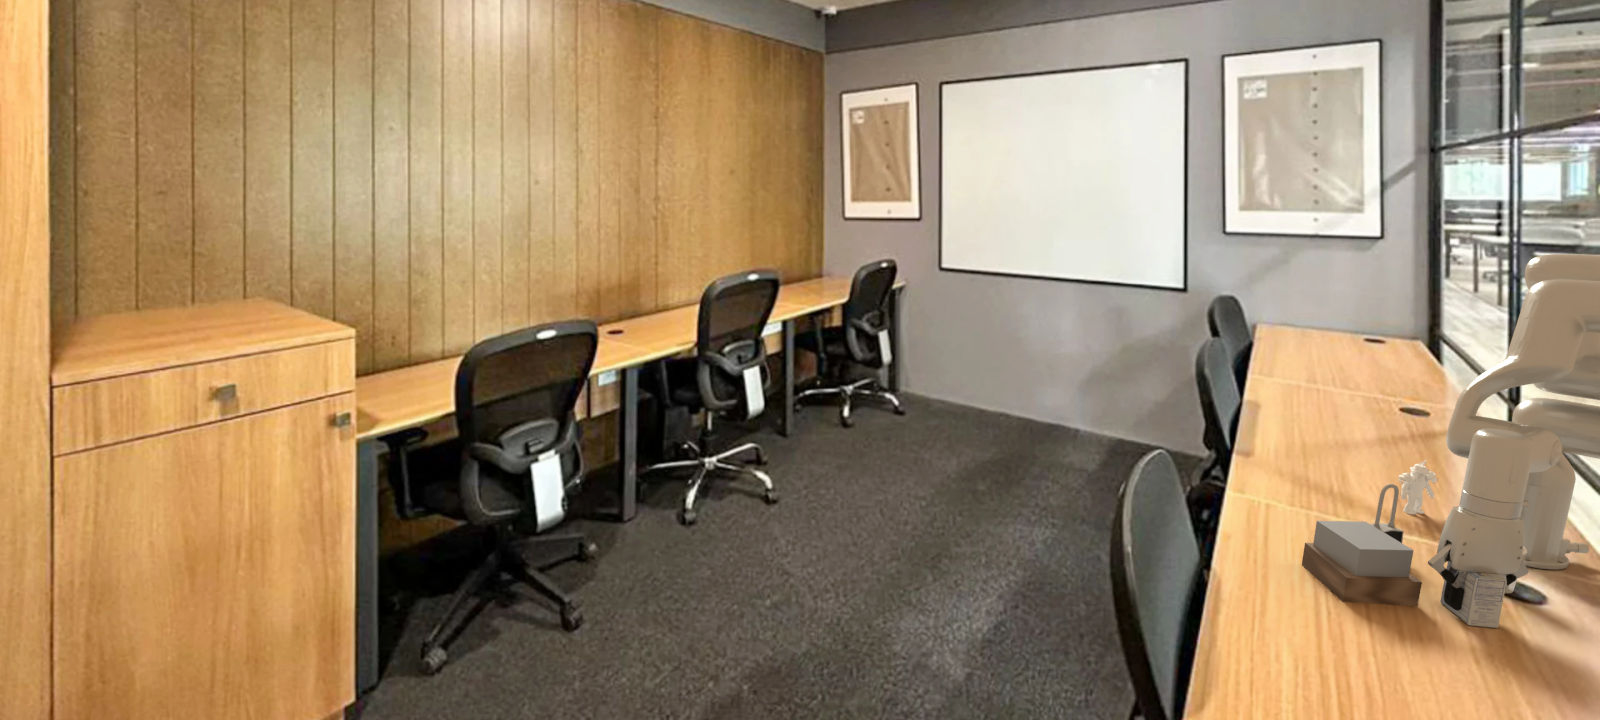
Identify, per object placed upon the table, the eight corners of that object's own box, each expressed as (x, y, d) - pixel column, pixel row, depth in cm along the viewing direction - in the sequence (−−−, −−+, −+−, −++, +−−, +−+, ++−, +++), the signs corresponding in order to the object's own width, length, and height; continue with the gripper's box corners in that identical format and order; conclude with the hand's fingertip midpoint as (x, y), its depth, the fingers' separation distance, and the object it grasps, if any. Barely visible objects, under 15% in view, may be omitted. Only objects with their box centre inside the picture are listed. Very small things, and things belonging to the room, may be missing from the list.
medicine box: (1498, 629, 127) (1509, 580, 125) (1467, 626, 128) (1477, 577, 126) (1468, 605, 135) (1477, 558, 133) (1438, 602, 136) (1448, 555, 134)
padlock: (1373, 562, 150) (1386, 489, 147) (1354, 553, 154) (1366, 481, 151) (1402, 560, 152) (1415, 486, 149) (1383, 550, 156) (1395, 479, 153)
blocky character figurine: (1420, 507, 178) (1429, 457, 176) (1437, 513, 175) (1447, 462, 172) (1388, 510, 176) (1397, 459, 174) (1404, 516, 173) (1414, 465, 170)
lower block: (1369, 571, 148) (1373, 546, 147) (1417, 609, 134) (1422, 582, 133) (1301, 567, 149) (1305, 542, 148) (1342, 604, 136) (1346, 577, 135)
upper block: (1361, 546, 147) (1365, 521, 146) (1408, 577, 135) (1413, 550, 134) (1312, 545, 147) (1316, 520, 146) (1355, 576, 135) (1360, 549, 134)
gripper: (1530, 499, 130) (1508, 600, 134) (1418, 493, 132) (1400, 592, 136) (1567, 517, 123) (1543, 623, 126) (1448, 510, 125) (1428, 615, 129)
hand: (1469, 606), depth 131 cm, fingers closed on medicine box, 4 cm apart
